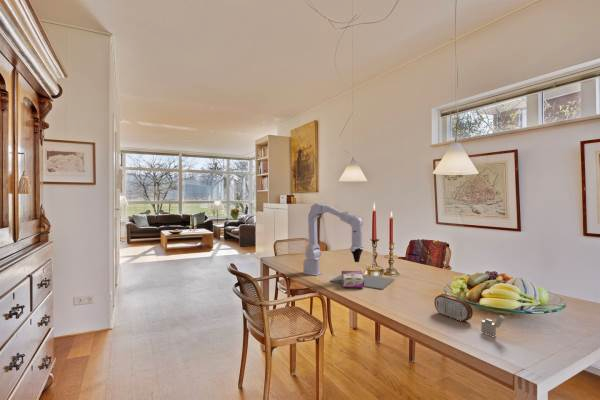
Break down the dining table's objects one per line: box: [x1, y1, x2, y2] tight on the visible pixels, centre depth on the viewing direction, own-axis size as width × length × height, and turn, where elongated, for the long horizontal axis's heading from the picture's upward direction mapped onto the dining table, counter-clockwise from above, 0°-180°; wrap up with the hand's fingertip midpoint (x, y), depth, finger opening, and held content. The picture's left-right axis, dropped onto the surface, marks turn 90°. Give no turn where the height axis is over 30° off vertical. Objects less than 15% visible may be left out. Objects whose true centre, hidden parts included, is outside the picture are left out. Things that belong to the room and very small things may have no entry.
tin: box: [433, 293, 474, 322], centre depth 127 cm, size 15×3×8 cm, turn 32°
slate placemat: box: [329, 274, 395, 291], centre depth 181 cm, size 30×22×1 cm
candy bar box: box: [341, 270, 365, 288], centre depth 174 cm, size 11×5×16 cm
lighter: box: [480, 314, 506, 337], centre depth 110 cm, size 7×2×8 cm, turn 32°
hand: (356, 262), depth 183 cm, fingers closed
